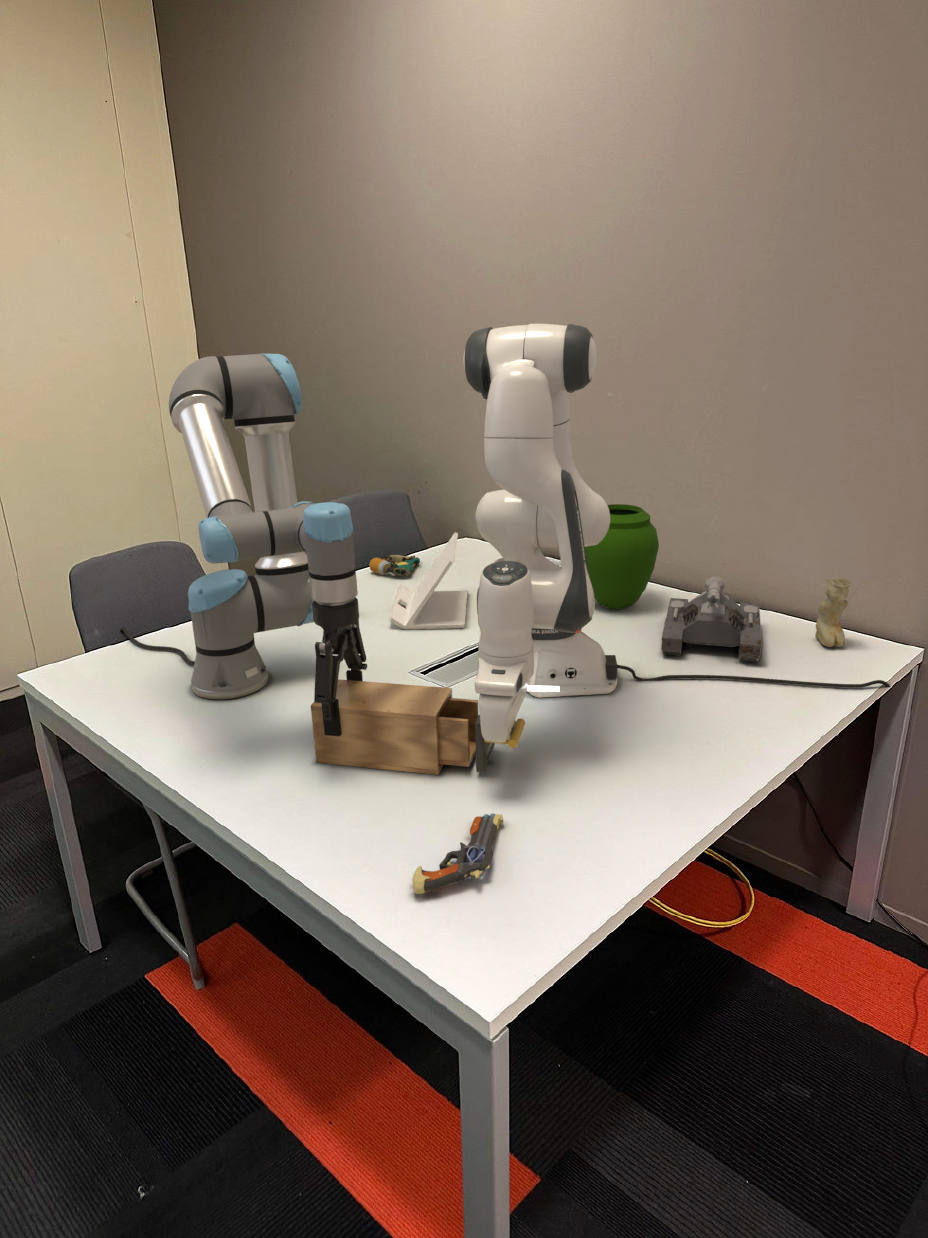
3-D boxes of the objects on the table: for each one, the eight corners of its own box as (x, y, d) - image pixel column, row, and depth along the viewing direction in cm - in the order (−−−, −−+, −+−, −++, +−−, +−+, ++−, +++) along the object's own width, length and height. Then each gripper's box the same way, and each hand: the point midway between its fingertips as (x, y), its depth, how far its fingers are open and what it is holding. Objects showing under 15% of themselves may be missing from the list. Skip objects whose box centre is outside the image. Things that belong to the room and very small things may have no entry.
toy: (669, 617, 205) (672, 557, 199) (757, 623, 199) (763, 562, 194) (660, 658, 182) (664, 591, 177) (759, 666, 177) (766, 598, 171)
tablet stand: (467, 593, 225) (465, 531, 219) (465, 628, 202) (462, 559, 196) (399, 594, 226) (395, 532, 220) (388, 629, 203) (384, 560, 197)
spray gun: (389, 561, 257) (433, 568, 251) (360, 574, 243) (406, 581, 237) (389, 547, 256) (434, 554, 250) (360, 559, 242) (406, 566, 236)
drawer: (526, 747, 146) (526, 700, 143) (516, 776, 138) (516, 726, 135) (383, 734, 152) (379, 688, 149) (365, 760, 144) (361, 713, 140)
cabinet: (454, 743, 150) (452, 687, 146) (438, 775, 140) (435, 716, 137) (339, 733, 155) (334, 678, 151) (316, 762, 145) (310, 705, 142)
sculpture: (821, 649, 184) (830, 583, 179) (808, 637, 191) (816, 573, 185) (848, 649, 184) (858, 582, 179) (834, 636, 191) (843, 572, 185)
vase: (599, 587, 227) (601, 497, 218) (668, 600, 216) (673, 505, 208) (562, 608, 212) (564, 513, 204) (634, 623, 202) (639, 523, 193)
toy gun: (407, 882, 111) (482, 881, 109) (438, 809, 129) (503, 808, 126) (410, 900, 111) (485, 900, 109) (441, 825, 129) (505, 824, 127)
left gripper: (339, 576, 151) (348, 689, 159) (283, 622, 130) (297, 750, 138) (379, 578, 149) (387, 692, 157) (329, 625, 128) (341, 754, 136)
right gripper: (500, 638, 147) (501, 710, 151) (471, 688, 128) (474, 768, 133) (536, 640, 145) (536, 713, 150) (513, 692, 127) (513, 773, 131)
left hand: (345, 719), depth 147 cm, fingers closed on cabinet, 11 cm apart
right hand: (507, 740), depth 141 cm, fingers closed, pressing on drawer
